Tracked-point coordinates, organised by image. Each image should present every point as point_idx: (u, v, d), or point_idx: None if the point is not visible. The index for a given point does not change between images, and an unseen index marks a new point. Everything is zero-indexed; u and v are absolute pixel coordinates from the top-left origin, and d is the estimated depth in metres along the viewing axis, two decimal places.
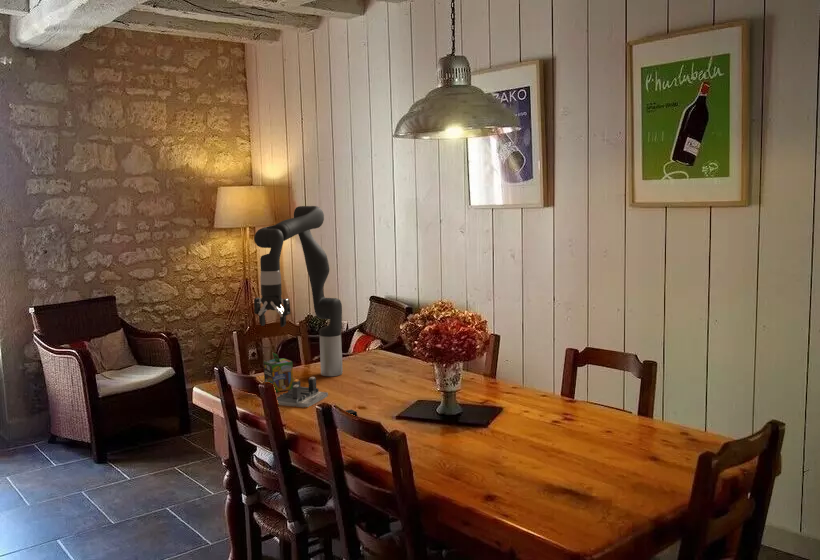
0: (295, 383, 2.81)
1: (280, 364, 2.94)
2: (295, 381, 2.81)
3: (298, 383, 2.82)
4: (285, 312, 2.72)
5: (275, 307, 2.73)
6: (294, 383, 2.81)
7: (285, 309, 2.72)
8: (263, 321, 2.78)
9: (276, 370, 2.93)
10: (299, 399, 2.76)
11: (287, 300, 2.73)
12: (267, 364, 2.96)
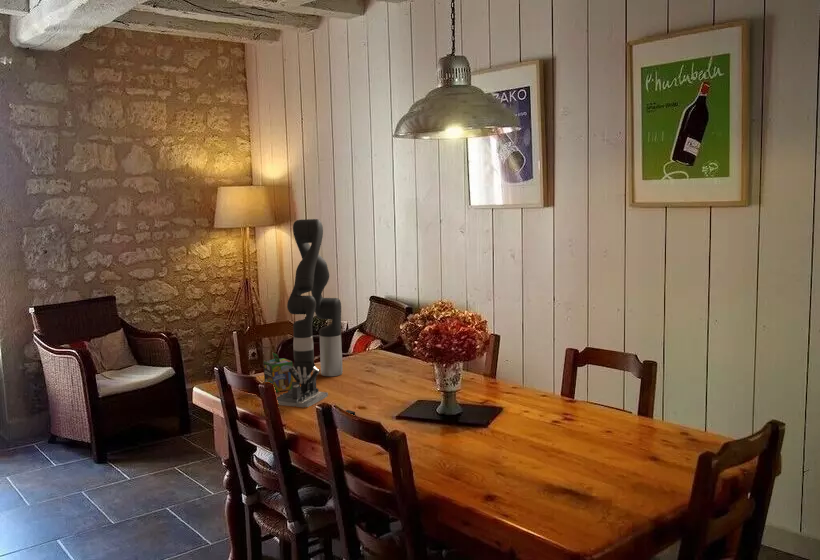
0: (295, 383, 2.81)
1: (280, 364, 2.94)
2: (295, 381, 2.81)
3: (298, 383, 2.82)
4: (309, 380, 2.79)
5: (304, 373, 2.78)
6: (294, 383, 2.81)
7: (311, 378, 2.78)
8: None
9: (276, 370, 2.93)
10: (299, 399, 2.76)
11: (318, 372, 2.78)
12: (267, 364, 2.96)
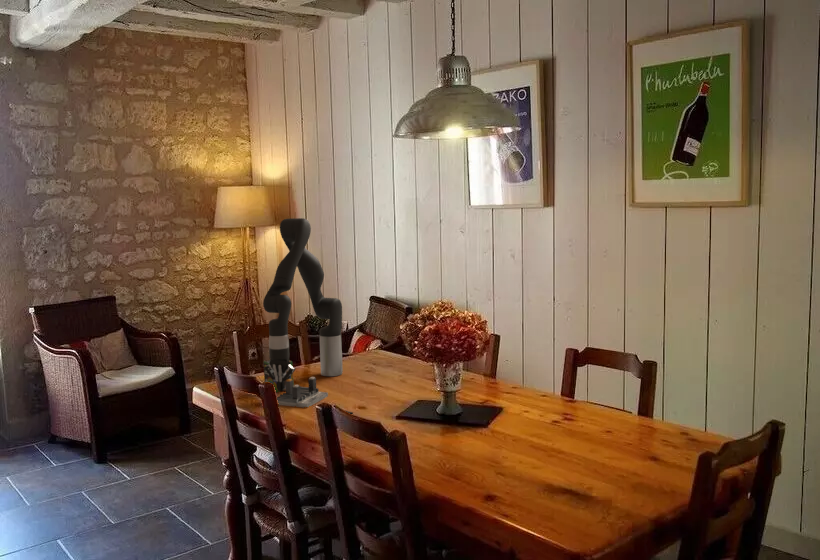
0: (288, 382, 2.82)
1: None
2: (288, 380, 2.82)
3: (291, 382, 2.83)
4: (284, 377, 2.83)
5: (280, 371, 2.82)
6: (287, 382, 2.82)
7: (286, 376, 2.82)
8: None
9: None
10: (299, 399, 2.76)
11: (293, 370, 2.82)
12: (267, 364, 2.96)
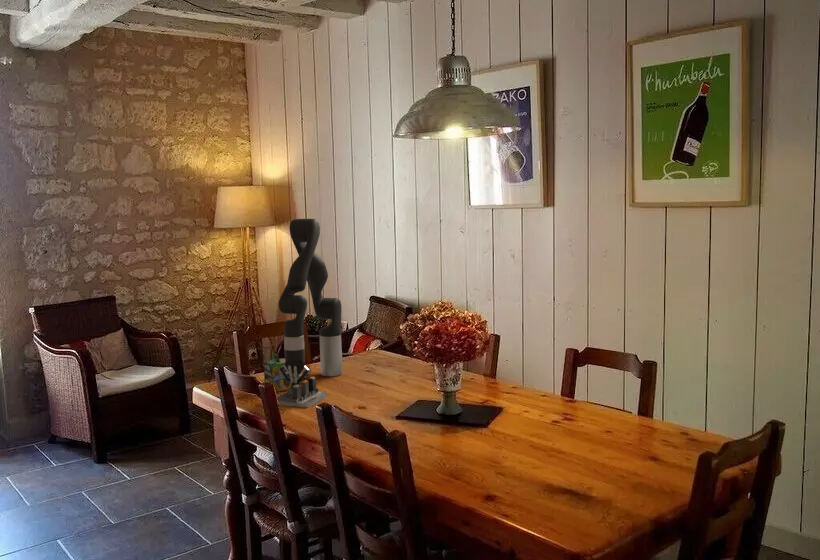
0: (303, 384, 2.80)
1: (280, 364, 2.94)
2: (303, 382, 2.80)
3: (306, 384, 2.80)
4: (299, 379, 2.80)
5: (295, 372, 2.80)
6: (302, 384, 2.80)
7: (302, 377, 2.80)
8: None
9: (276, 370, 2.93)
10: (299, 399, 2.76)
11: (309, 371, 2.79)
12: (267, 364, 2.96)
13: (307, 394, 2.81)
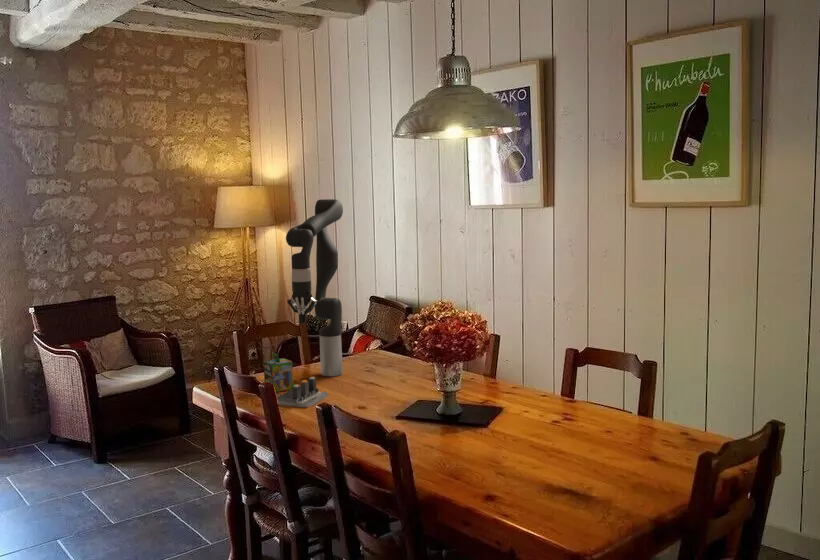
0: (303, 384, 2.80)
1: (280, 364, 2.94)
2: (303, 382, 2.80)
3: (306, 384, 2.80)
4: (306, 310, 2.91)
5: (302, 304, 2.91)
6: (302, 384, 2.80)
7: (309, 308, 2.90)
8: None
9: (276, 370, 2.93)
10: (299, 399, 2.76)
11: (315, 302, 2.90)
12: (267, 364, 2.96)
13: (307, 394, 2.81)
